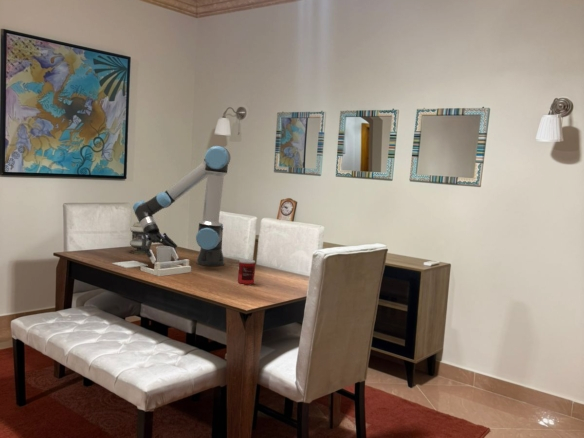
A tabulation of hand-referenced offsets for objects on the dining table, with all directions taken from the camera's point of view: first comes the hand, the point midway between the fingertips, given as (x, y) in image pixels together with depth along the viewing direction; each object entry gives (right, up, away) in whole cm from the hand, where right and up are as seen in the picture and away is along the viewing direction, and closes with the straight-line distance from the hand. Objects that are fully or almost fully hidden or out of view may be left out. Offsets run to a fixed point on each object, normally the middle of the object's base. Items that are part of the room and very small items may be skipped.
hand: (165, 260), depth 271 cm
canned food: (+42, -10, -15) cm, 45 cm away
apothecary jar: (-27, +1, +48) cm, 55 cm away
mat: (-21, -3, +11) cm, 24 cm away
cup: (-2, -5, +2) cm, 6 cm away
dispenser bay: (0, -5, +1) cm, 5 cm away
